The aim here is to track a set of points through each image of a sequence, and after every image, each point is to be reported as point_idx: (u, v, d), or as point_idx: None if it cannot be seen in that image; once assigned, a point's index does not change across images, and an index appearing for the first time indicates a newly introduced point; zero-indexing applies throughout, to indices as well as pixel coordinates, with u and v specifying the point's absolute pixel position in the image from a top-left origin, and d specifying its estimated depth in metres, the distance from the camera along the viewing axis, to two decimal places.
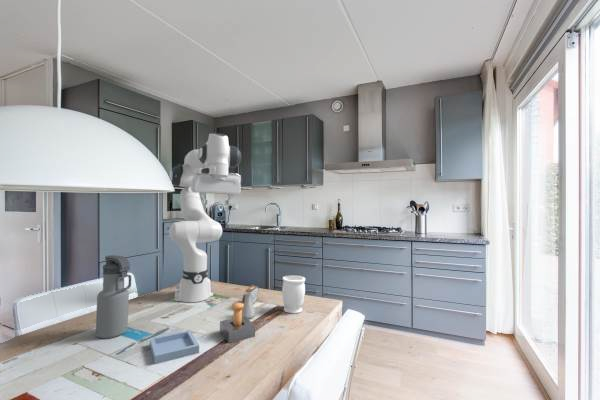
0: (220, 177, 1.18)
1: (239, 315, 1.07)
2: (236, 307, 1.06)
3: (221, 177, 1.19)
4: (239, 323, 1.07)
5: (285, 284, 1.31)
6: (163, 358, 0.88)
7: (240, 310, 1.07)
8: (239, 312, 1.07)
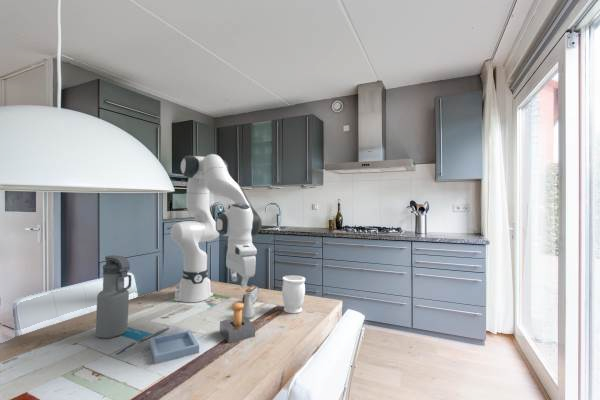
0: None
1: (239, 315, 1.07)
2: (236, 307, 1.06)
3: None
4: (239, 323, 1.07)
5: (285, 284, 1.31)
6: (163, 358, 0.88)
7: (240, 310, 1.07)
8: (239, 312, 1.07)
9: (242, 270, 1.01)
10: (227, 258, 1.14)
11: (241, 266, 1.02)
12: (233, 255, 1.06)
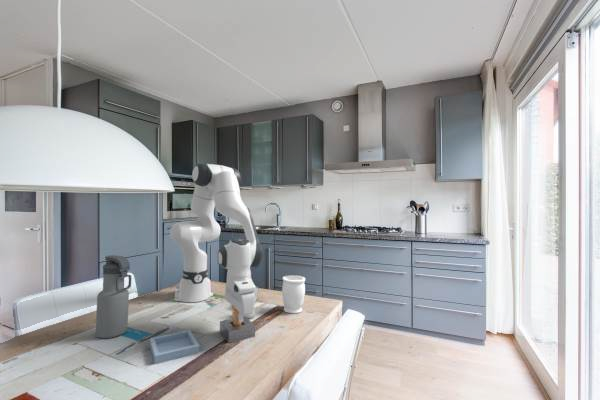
0: None
1: None
2: None
3: None
4: (239, 323, 1.07)
5: (285, 284, 1.31)
6: (163, 358, 0.88)
7: None
8: None
9: (241, 308, 1.01)
10: (226, 291, 1.14)
11: (240, 303, 1.02)
12: (232, 291, 1.06)
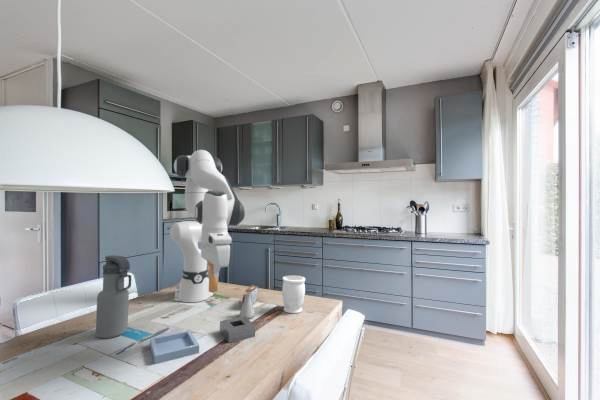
0: None
1: None
2: None
3: None
4: (215, 279, 1.02)
5: (285, 284, 1.31)
6: (163, 358, 0.88)
7: None
8: None
9: (215, 260, 0.96)
10: (202, 248, 1.09)
11: (214, 256, 0.97)
12: (207, 244, 1.00)
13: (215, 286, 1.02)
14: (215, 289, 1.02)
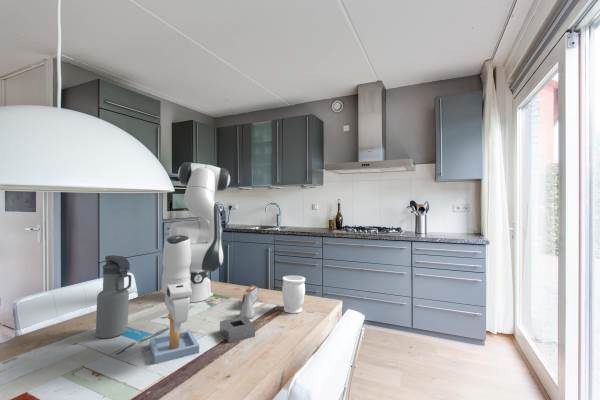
0: None
1: None
2: None
3: None
4: (176, 335, 0.95)
5: (285, 284, 1.31)
6: (163, 358, 0.88)
7: None
8: None
9: (173, 315, 0.89)
10: (165, 295, 1.02)
11: (173, 309, 0.90)
12: (167, 295, 0.94)
13: (176, 342, 0.95)
14: (176, 346, 0.95)
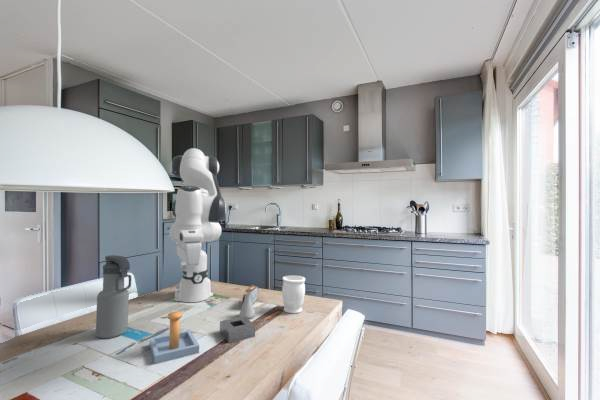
0: None
1: (176, 326, 0.95)
2: (172, 317, 0.94)
3: None
4: (176, 335, 0.95)
5: (285, 284, 1.31)
6: (163, 358, 0.88)
7: (177, 320, 0.95)
8: (176, 323, 0.95)
9: (186, 258, 0.92)
10: (177, 245, 1.05)
11: (185, 253, 0.93)
12: (179, 241, 0.97)
13: (176, 342, 0.95)
14: (176, 346, 0.95)
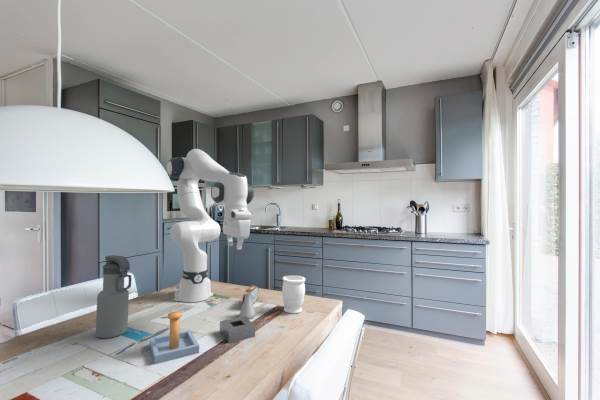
0: None
1: (175, 325, 0.95)
2: (171, 317, 0.94)
3: None
4: (176, 335, 0.95)
5: (285, 284, 1.31)
6: (163, 358, 0.88)
7: (177, 320, 0.96)
8: (176, 323, 0.95)
9: (237, 232, 1.08)
10: (224, 225, 1.21)
11: (236, 229, 1.09)
12: (229, 220, 1.13)
13: (176, 342, 0.95)
14: (176, 345, 0.95)
